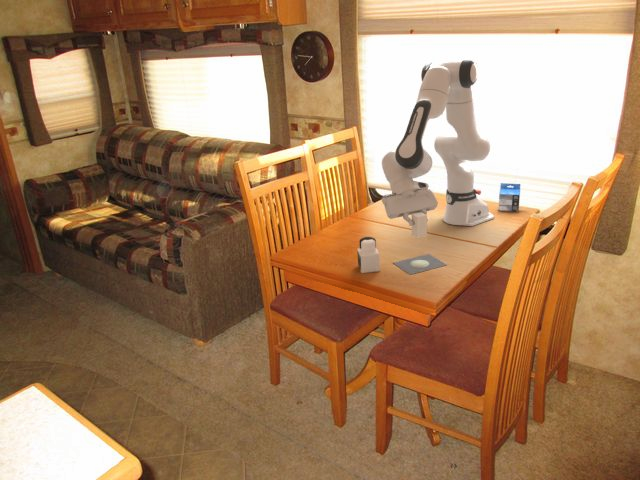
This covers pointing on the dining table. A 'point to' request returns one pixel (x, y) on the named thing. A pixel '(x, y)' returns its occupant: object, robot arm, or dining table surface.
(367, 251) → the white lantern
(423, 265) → the slate pad
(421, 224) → the white block
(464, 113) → the robot arm
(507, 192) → the label tape cartridge
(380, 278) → the dining table surface
